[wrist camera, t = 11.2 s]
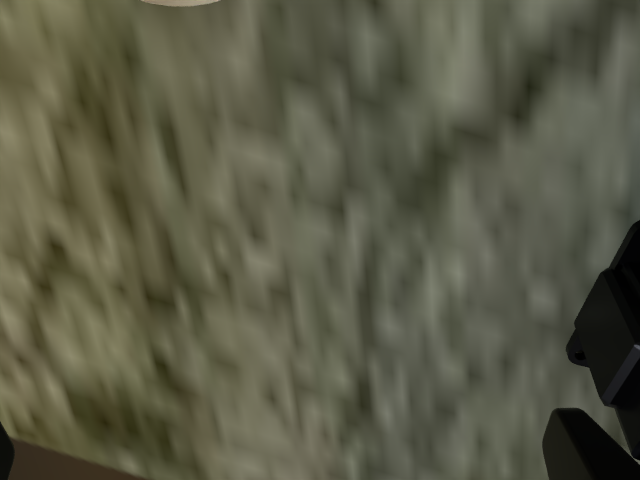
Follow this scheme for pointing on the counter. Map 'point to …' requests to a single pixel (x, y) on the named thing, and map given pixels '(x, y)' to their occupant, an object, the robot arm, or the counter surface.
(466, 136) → the counter surface
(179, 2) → the round plate
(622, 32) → the counter surface
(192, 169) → the counter surface
